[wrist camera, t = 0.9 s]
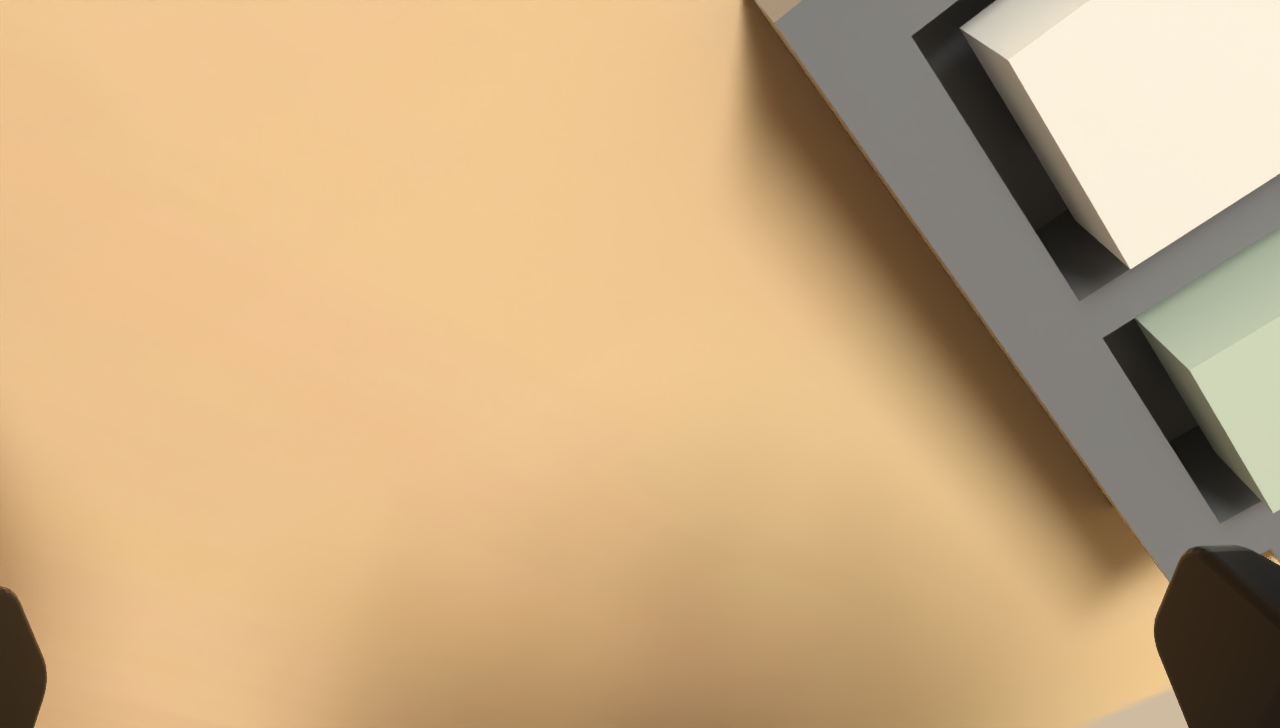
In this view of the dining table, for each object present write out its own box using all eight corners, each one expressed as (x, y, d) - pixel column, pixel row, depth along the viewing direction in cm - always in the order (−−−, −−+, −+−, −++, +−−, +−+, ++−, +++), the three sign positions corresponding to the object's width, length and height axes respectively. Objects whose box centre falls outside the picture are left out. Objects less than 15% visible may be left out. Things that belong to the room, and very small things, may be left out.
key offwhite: (1311, 63, 16) (1398, 97, 15) (1075, 220, 18) (1130, 269, 16) (1216, -168, 14) (1304, -158, 13) (959, 28, 16) (1007, 60, 14)
